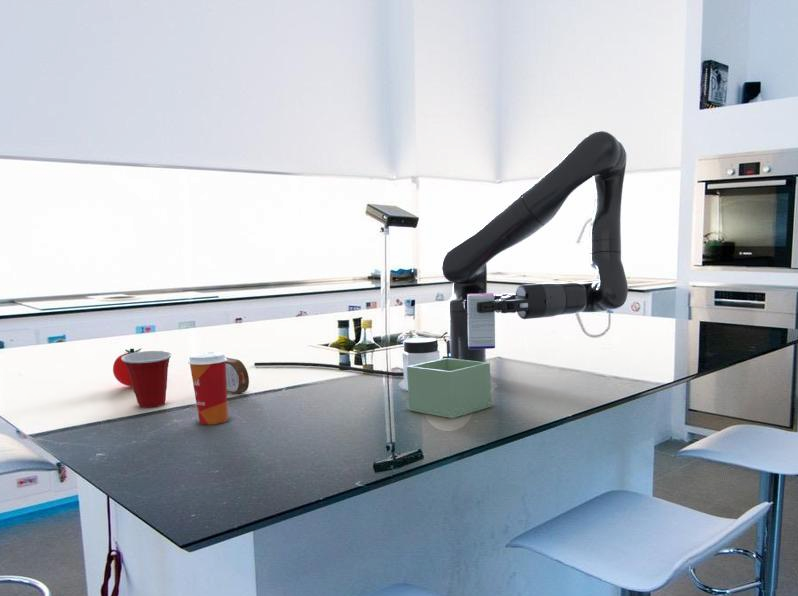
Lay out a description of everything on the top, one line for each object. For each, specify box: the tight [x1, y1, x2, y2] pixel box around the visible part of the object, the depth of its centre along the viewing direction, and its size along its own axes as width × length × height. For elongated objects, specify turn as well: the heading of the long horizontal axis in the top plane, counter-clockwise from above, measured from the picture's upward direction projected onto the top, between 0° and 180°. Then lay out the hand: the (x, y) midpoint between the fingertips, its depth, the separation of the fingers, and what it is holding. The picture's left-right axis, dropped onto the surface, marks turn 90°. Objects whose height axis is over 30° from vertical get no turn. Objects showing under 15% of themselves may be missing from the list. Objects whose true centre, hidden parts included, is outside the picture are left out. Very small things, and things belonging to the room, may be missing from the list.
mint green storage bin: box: [407, 358, 492, 419], centre depth 160 cm, size 12×12×10 cm
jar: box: [402, 337, 441, 392], centre depth 180 cm, size 9×8×12 cm
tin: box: [225, 356, 250, 395], centre depth 187 cm, size 15×3×8 cm, turn 47°
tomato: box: [112, 347, 143, 387], centre depth 199 cm, size 10×10×10 cm
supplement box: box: [467, 292, 496, 350], centre depth 162 cm, size 6×6×12 cm
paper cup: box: [187, 351, 229, 425], centre depth 156 cm, size 8×8×14 cm
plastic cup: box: [121, 350, 172, 408], centre depth 174 cm, size 11×11×12 cm
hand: (470, 306), depth 160 cm, fingers closed on supplement box, 7 cm apart
